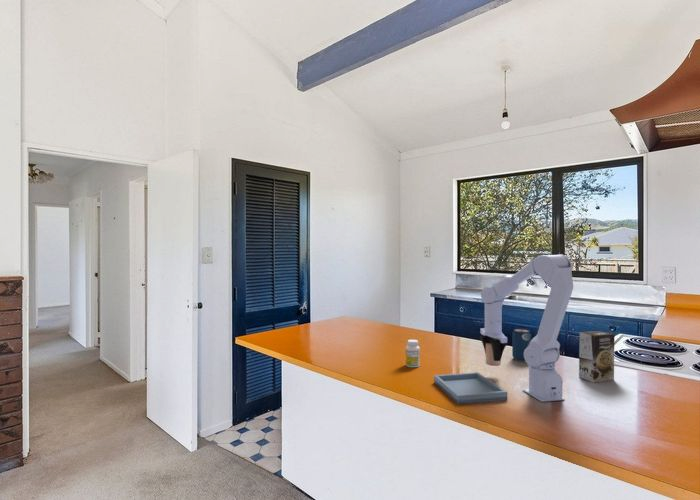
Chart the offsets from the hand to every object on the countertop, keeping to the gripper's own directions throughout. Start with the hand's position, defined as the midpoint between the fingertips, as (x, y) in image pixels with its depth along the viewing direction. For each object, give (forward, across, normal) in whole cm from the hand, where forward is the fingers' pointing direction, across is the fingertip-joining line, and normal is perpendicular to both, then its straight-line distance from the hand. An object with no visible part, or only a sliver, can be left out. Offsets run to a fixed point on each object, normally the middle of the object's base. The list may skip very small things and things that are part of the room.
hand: (493, 358), depth 138 cm
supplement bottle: (+7, -17, -24) cm, 30 cm away
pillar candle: (+2, 0, 0) cm, 2 cm away
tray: (+6, +11, -15) cm, 20 cm away
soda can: (+7, -16, +22) cm, 28 cm away
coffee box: (+7, +9, +34) cm, 36 cm away
